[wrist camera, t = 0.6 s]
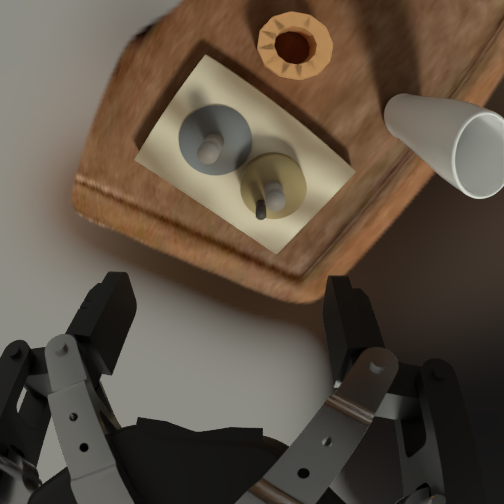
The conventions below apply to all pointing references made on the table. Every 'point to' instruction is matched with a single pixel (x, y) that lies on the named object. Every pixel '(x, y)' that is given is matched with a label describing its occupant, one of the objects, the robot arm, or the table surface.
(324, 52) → the gear
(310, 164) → the gear board
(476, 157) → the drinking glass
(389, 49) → the table surface
